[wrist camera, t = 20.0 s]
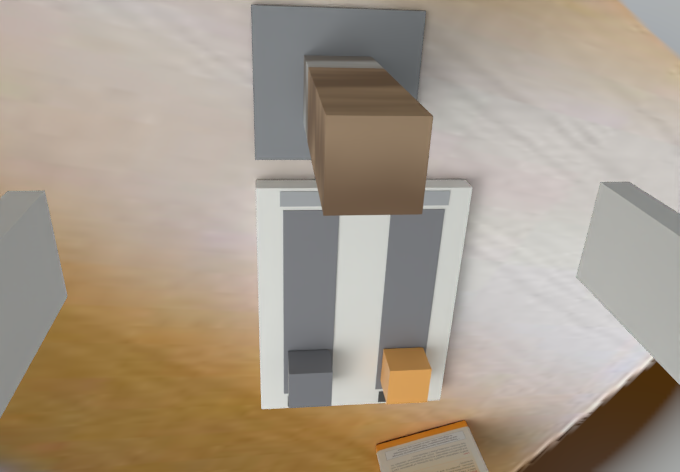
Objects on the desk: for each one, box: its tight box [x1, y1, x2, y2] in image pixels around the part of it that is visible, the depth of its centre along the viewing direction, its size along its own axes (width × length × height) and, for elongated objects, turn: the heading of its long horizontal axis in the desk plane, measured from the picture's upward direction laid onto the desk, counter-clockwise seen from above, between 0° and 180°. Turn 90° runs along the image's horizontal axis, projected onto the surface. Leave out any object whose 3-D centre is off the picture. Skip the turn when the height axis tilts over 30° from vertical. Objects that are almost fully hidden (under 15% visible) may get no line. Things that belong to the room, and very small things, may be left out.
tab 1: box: [288, 350, 333, 408], centre depth 40 cm, size 3×3×2 cm
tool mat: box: [251, 5, 426, 160], centre depth 34 cm, size 9×10×1 cm
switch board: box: [256, 180, 472, 409], centre depth 41 cm, size 18×14×2 cm
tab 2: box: [380, 347, 432, 404], centre depth 41 cm, size 3×3×2 cm
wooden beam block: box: [303, 55, 433, 216], centre depth 28 cm, size 4×4×14 cm
